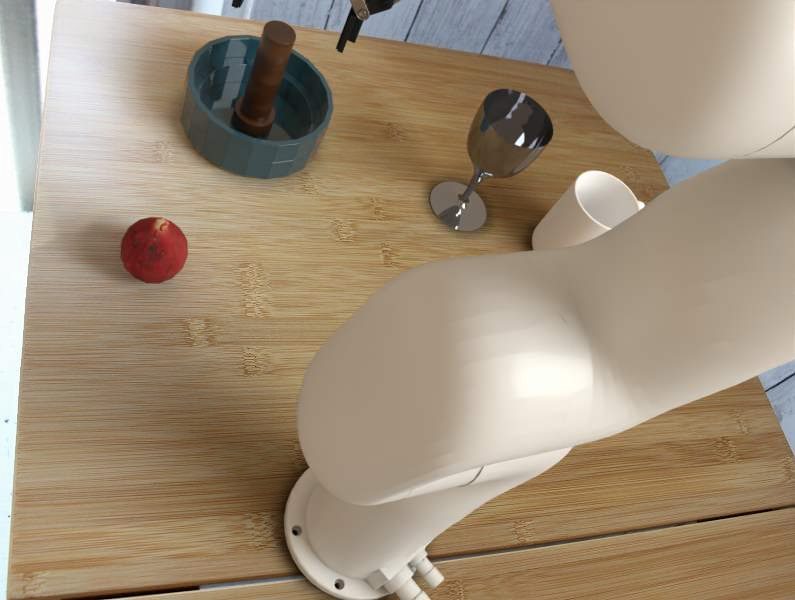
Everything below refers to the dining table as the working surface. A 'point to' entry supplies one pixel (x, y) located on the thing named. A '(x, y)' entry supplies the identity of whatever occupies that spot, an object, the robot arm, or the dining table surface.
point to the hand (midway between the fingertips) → (291, 21)
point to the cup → (586, 211)
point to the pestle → (264, 80)
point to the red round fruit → (154, 250)
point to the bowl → (226, 82)
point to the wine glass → (494, 154)
